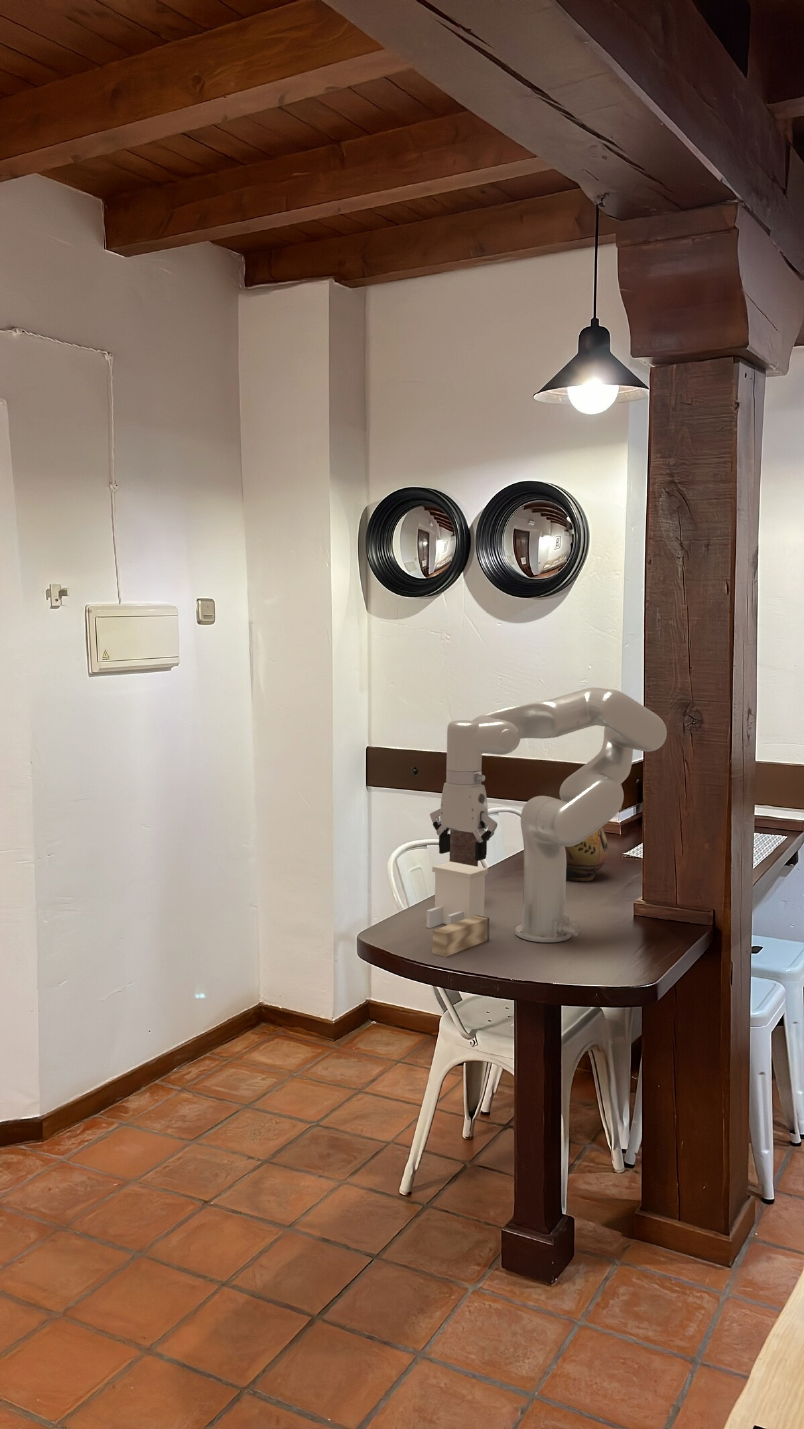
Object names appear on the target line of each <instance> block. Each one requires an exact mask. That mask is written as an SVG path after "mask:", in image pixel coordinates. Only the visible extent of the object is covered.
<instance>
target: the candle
mask: <svg viewBox="0 0 804 1429" xmlns="http://www.w3.org/2000/svg"><path fill="white" fill-rule="evenodd" d="M449 834H450V852H449V861H448V862H455V863H461V864H466V865H471V866H476V867H479V861H476V860H475V843H476V842H478V840H477V839H476V837H475V835H474V834H473V832H465V831H459V830H453V829H450V831H449Z"/></svg>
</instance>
